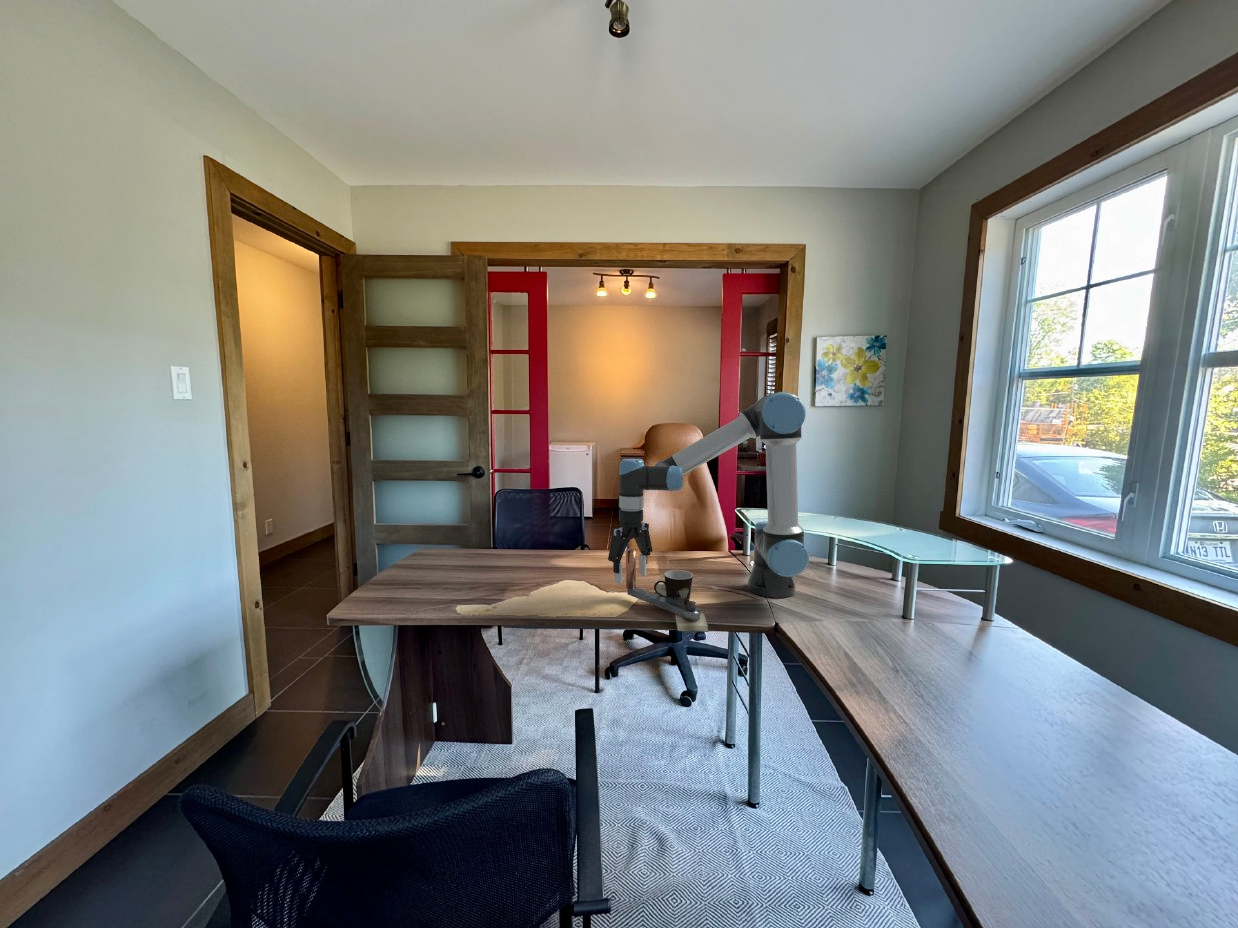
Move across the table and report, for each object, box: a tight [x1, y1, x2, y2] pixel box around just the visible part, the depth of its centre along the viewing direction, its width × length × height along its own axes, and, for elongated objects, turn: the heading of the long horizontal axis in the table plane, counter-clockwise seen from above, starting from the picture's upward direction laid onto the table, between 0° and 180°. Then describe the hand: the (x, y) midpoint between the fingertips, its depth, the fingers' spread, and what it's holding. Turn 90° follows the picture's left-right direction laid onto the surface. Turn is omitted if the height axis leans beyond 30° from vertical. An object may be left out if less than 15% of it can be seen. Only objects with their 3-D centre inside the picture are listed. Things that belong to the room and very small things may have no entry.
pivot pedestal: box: [674, 600, 709, 632], centre depth 129 cm, size 8×8×6 cm
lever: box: [625, 548, 701, 621], centre depth 138 cm, size 28×6×14 cm, turn 43°
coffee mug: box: [653, 569, 694, 606], centre depth 142 cm, size 12×9×10 cm
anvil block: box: [654, 580, 667, 597], centre depth 151 cm, size 10×3×4 cm, turn 88°
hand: (630, 578), depth 146 cm, fingers open, 10 cm apart
